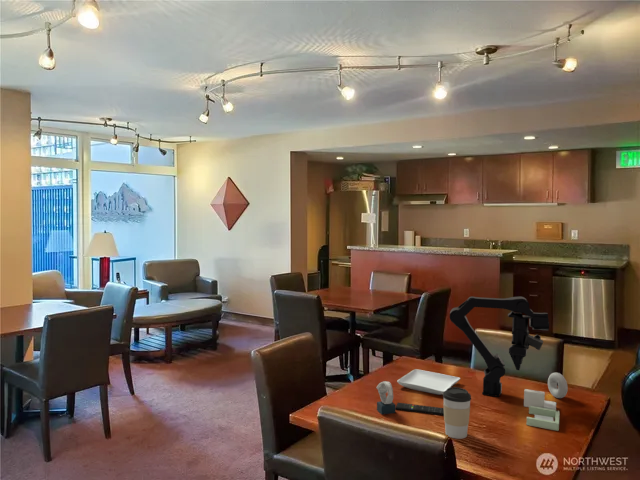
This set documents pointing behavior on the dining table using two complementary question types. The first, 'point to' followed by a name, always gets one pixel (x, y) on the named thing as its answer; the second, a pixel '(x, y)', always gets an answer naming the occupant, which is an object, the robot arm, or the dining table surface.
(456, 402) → the coffee cup
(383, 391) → the abstract loop sculpture
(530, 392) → the scraper
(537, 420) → the green c-shaped block
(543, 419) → the tile
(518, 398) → the dining table surface
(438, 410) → the remote control
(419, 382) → the salad plate
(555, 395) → the donut
